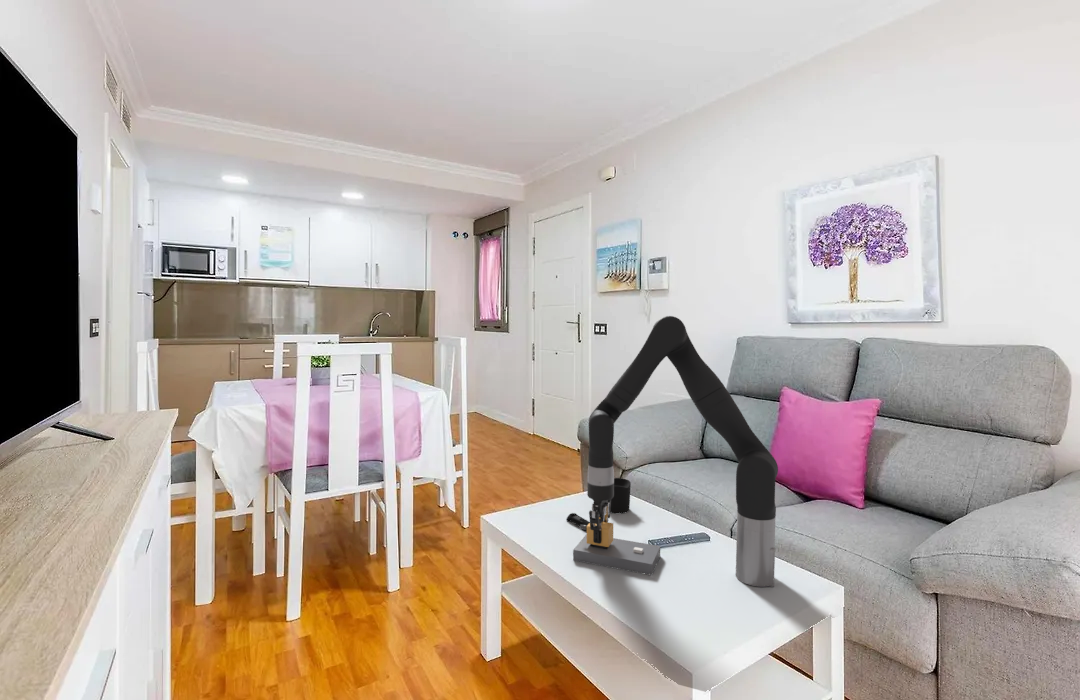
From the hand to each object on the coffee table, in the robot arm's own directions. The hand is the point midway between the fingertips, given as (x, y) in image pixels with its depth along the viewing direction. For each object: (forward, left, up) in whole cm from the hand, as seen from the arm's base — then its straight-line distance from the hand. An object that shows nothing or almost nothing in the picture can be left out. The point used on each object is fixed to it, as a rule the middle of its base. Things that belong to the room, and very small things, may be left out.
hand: (600, 538), depth 150 cm
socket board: (-5, 0, -5) cm, 7 cm away
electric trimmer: (+11, -17, -5) cm, 21 cm away
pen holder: (+5, -37, -5) cm, 38 cm away
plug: (+1, 0, -4) cm, 4 cm away
